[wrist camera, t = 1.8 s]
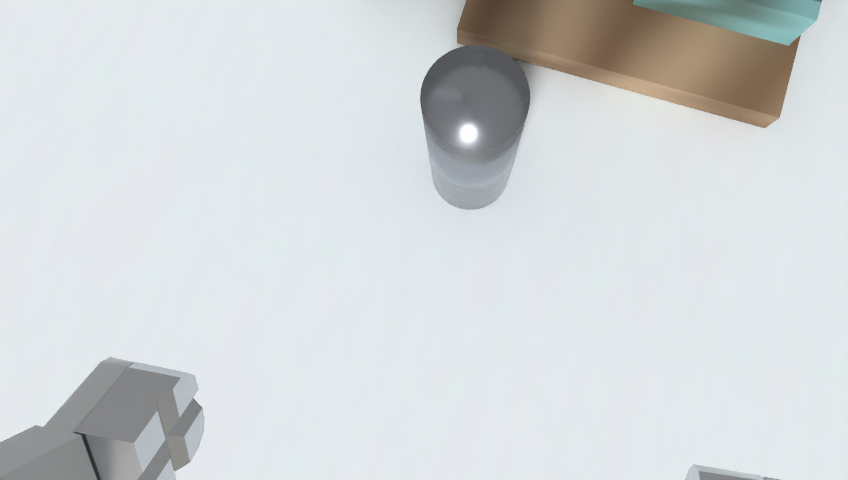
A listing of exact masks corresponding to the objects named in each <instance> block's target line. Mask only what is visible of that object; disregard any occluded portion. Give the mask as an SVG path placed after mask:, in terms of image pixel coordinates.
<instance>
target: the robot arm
mask: <svg viewBox="0 0 848 480" xmlns="http://www.w3.org/2000/svg"><path fill="white" fill-rule="evenodd" d="M197 391H198V386H197V382H196V378H195V375H192V374H189V373H185V372H180V371H176V370H171V369H166V368H161V367H157V366H152V365H147V364H142V363H138V362H131V361H126V360H121V359H117V358H112V357H110V358H108V359H106V360H104V361H102V362H100V363H99V365H98V366H97V367H96V368H95V369H94V370H93V371H92V372H91V374H90V375H89V376H88V377H87V378H86V379H85V380H84V382H83V383H82V384H81V385H80V386H79V387H78V388H77V390H76V391H75V392H74V393H73V394H72V395H71V396H70V397H69V399H68V400H67V401H66V402H65V403H64V404H63V405H62V407H61V408H60V409H59V410H58V411H57V412H56V413H55V414H54V416H53V417H52V418H51V419H50V420H49V421H48V422H47V424H46V425H45V426H44V427H42V426H33V427H31V428H29V429H27V430H25V431H23V432H21V433H19V434H17V435H15V436H13V437H11V438H9V439H7V440H5V441H3V442H1V443H0V480H176V475H175V471H176V470H178V469H180V468H181V467H183V466H185V465H186V464H188V463H190V462H191V460H192V458H193V456H194V455H195V453H196V451H197V450H198V448H199V445H200V441H201V438H202V435H203V432H204V414H203V409H202V407H201V406H200V405H199V404H198V403H197V402H196V401H195V400H194V398H193V397H194V395H195V394H196V392H197ZM685 480H779V479H773V478H768V477H761V476H759V475H753V474H747V473H741V472H735V471H730V470H724V469H718V468H712V467H706V466H700V465H693V466H692V467H691V468H690V469H689V471H688V474H687V476H686V479H685Z"/></svg>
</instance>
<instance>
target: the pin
mask: <svg viewBox="0 0 848 480" xmlns="http://www.w3.org/2000/svg"><path fill="white" fill-rule="evenodd" d="M420 101H421V109H422V115H423V121H424V127H425V134H426V140H427V146H428V152H429V158H430V165H431V171H432V177H433V182H434V185H435V188H436V190H437V191H438V193H439V194H440V196H441V197H442V198H443V199H444V200H445V201H447V202H448V203H449V204H451V205H453V206H455V207H458V208H462V209H469V210H470V209H479V208H483V207H485V206H487V205H489V204H491V203H493V202H494V201H495V200H496V199H497V198H498V197H499V196H500V195H501V194H502V192H503V191H504V189H505V187H506V184H507V181H508V178H509V174H510V171H511V167H512V164H513V161H514V157H515V154H516V150H517V147H518V144H519V140H520V137H521V134H522V130H523V127H524V123H525V120H526V117H527V113H528V109H529V104H530V90H529V85H528V82H527V79H526V77H525V75H524V73H523V71H522V69H521V68H520V66H519V65H518V64H517V63H516V62H515V61H514V60H513V59H512V58H511V57H509V56H508V55H506V54H505V53H503V52H501V51H499V50H497V49H494V48H491V47H487V46H479V45H472V46H464V47H460V48H457V49H454V50H452V51H450V52H448V53H446V54H445V55H443V56H442V57H441V58H439V59H438V60H437V61H436V62H435V63H434V64H433V65H432V67H431V68H430V69H429V71H428V72H427V74H426V76H425V78H424V81H423V84H422V88H421V95H420Z"/></svg>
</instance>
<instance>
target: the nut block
mask: <svg viewBox="0 0 848 480" xmlns="http://www.w3.org/2000/svg"><path fill="white" fill-rule="evenodd" d="M821 1H822V0H466V3H465V6H464V9H463V12H462V15H461V19H460V22H459V25H458V28H457V43H460V44H463V45H467V46H472V45H479V46H487V47H491V48H494V49H497V50H499V51H501V52H503V53H505V54H506V55H508V56H509V57H511V58H514V59H518V60H521V61H525V62H528V63H532V64H536V65H539V66H543V67H546V68H550V69H554V70H557V71H561V72H564V73H568V74H572V75H575V76H579V77H582V78H586V79H590V80H593V81H597V82H601V83H604V84H608V85H611V86H615V87H619V88H622V89H626V90H629V91H633V92H637V93H640V94H644V95H647V96H651V97H655V98H658V99H662V100H665V101H669V102H673V103H676V104H680V105H684V106H687V107H691V108H694V109H698V110H702V111H705V112H709V113H712V114H716V115H720V116H723V117H727V118H730V119H734V120H738V121H741V122H745V123H748V124H752V125H756V126H759V127H763V128H765V127H767V126H768V125H770V124H771V123H772V122H774V121H775V120H777V119H778V118H779V117H780V114H781V110H782V106H783V102H784V98H785V94H786V90H787V86H788V82H789V79H790V75H791V71H792V67H793V63H794V59H795V55H796V51H797V47H798V43H799V39H800V36H801V34H802V33H803V32H804V31H805V30H806V29H807V28H808V27H810V26H811V25H812V24H813V23H814V22H815V21H816V20H817V17H818V13H819V9H820V5H821Z"/></svg>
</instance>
